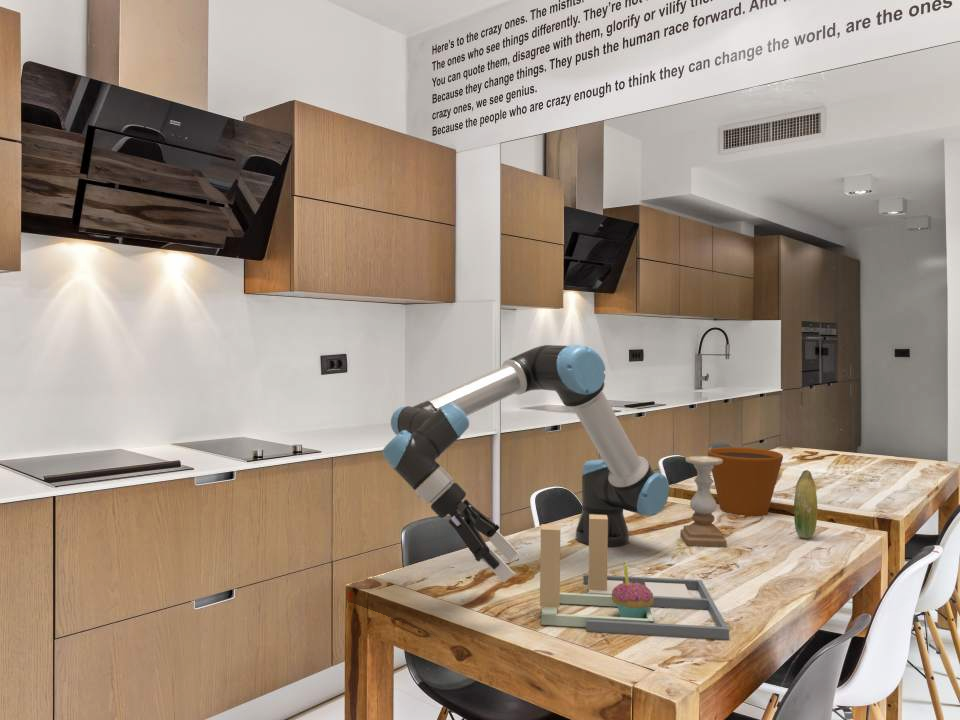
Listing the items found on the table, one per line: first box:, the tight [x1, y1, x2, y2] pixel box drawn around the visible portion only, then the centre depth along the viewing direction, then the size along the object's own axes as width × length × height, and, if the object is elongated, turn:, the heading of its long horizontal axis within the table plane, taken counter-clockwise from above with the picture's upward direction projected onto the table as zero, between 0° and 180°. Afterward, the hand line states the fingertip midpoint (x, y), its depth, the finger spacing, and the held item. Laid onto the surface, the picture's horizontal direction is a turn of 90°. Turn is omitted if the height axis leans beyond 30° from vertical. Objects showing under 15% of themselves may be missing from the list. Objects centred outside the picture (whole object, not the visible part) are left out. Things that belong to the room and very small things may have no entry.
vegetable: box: [793, 469, 818, 540], centre depth 204 cm, size 6×6×20 cm
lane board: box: [582, 574, 730, 641], centre depth 150 cm, size 27×28×2 cm
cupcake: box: [612, 561, 654, 619], centre depth 145 cm, size 9×8×12 cm
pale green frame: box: [539, 523, 655, 628], centre depth 145 cm, size 22×13×18 cm, turn 83°
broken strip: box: [587, 514, 692, 598], centre depth 157 cm, size 22×10×17 cm, turn 83°
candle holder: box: [679, 455, 728, 548], centre depth 200 cm, size 11×11×24 cm
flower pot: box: [707, 446, 784, 517], centre depth 237 cm, size 24×24×20 cm
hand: (511, 567), depth 147 cm, fingers open, 13 cm apart
